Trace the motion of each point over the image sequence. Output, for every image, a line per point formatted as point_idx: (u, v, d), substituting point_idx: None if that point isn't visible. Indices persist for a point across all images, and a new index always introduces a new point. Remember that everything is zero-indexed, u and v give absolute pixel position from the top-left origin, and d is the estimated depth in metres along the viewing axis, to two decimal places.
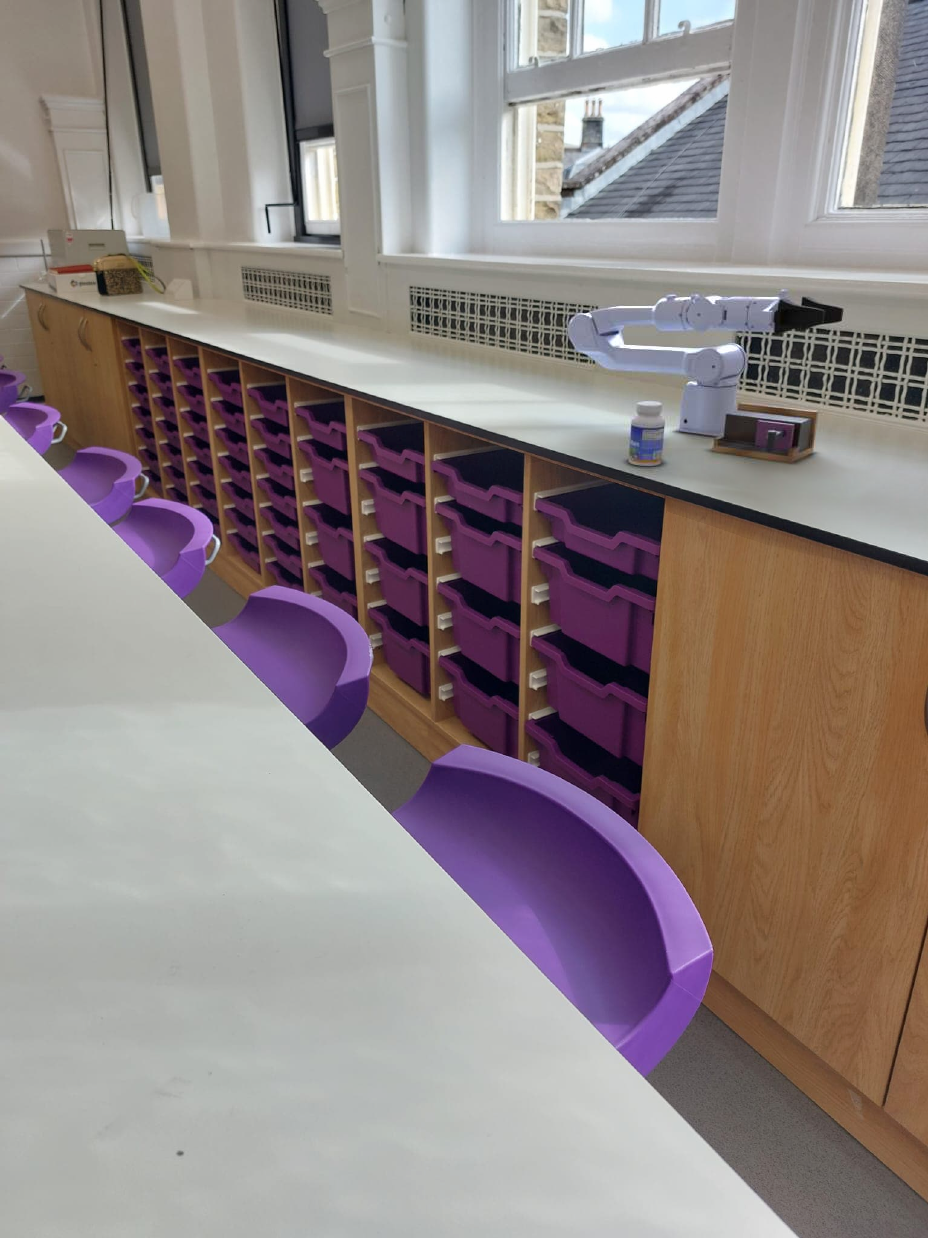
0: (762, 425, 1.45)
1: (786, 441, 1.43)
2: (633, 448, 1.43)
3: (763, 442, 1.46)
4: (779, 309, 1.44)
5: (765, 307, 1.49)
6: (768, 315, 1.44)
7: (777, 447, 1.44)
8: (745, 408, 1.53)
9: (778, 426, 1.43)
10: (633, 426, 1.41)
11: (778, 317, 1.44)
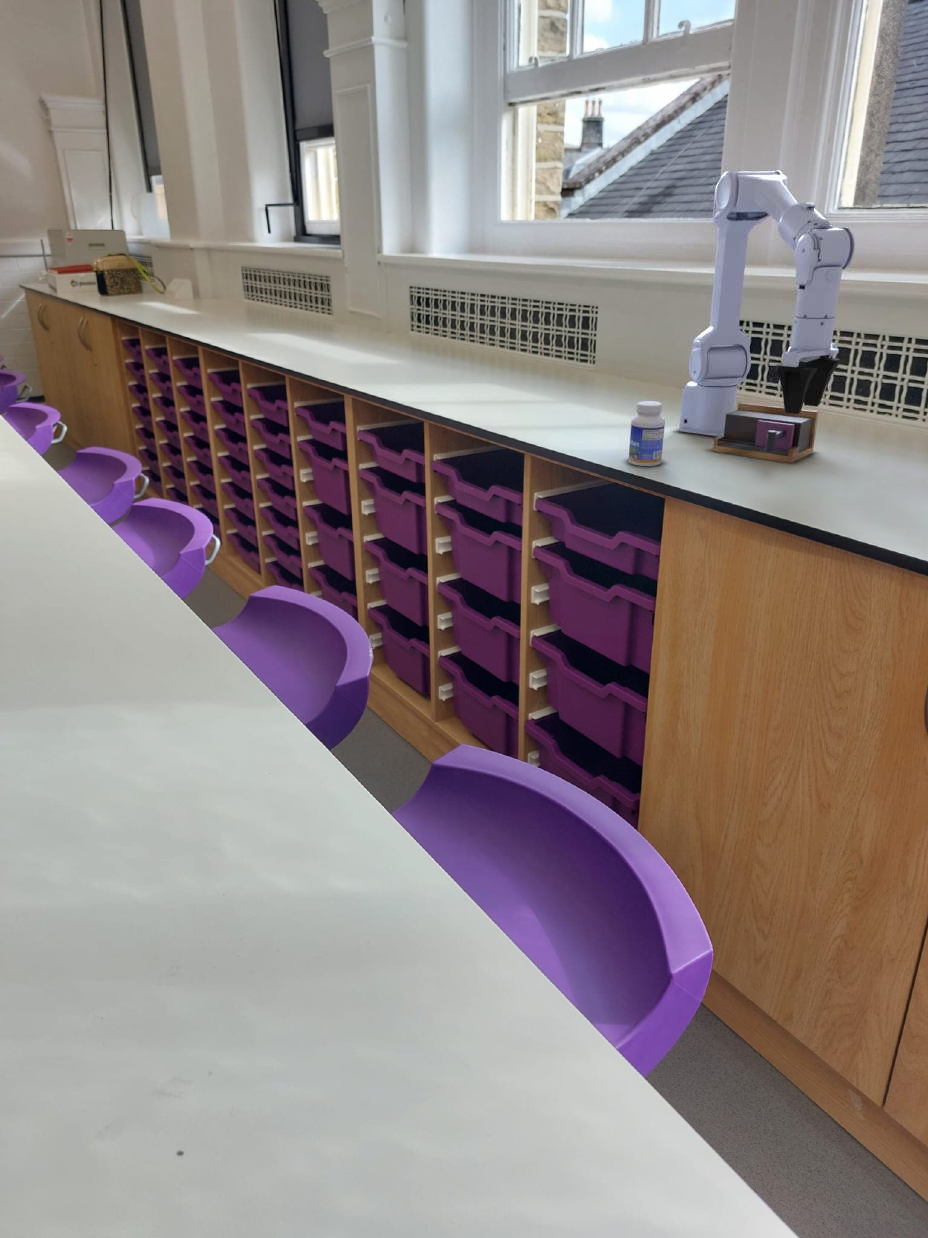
0: (762, 425, 1.45)
1: (786, 441, 1.43)
2: (633, 448, 1.43)
3: (763, 442, 1.46)
4: (799, 371, 1.28)
5: (813, 339, 1.29)
6: (791, 363, 1.27)
7: (777, 447, 1.44)
8: (745, 408, 1.53)
9: (778, 426, 1.43)
10: (633, 426, 1.41)
11: (791, 370, 1.29)
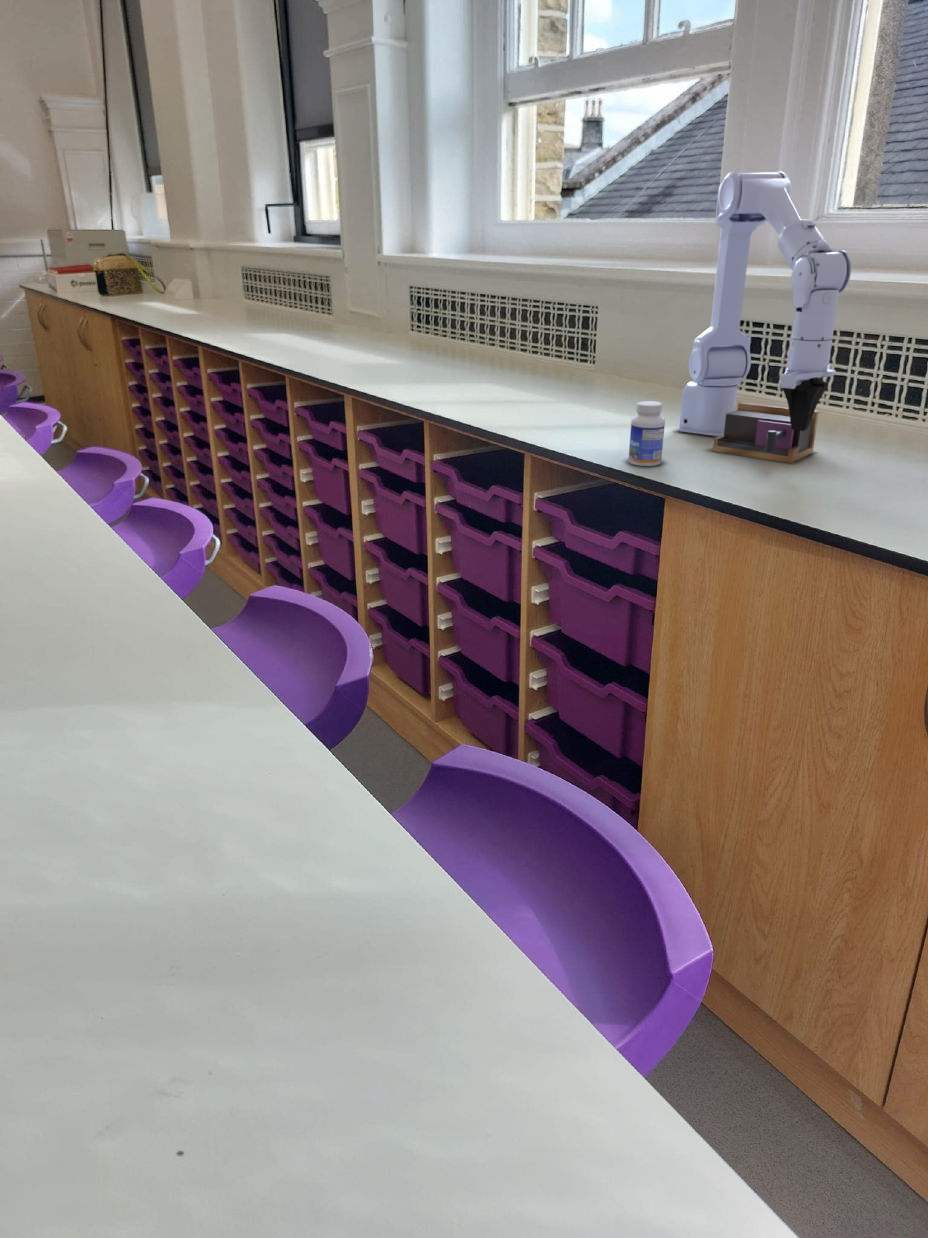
0: (762, 425, 1.45)
1: (786, 441, 1.43)
2: (633, 448, 1.43)
3: (763, 442, 1.46)
4: (805, 389, 1.32)
5: (810, 361, 1.30)
6: (788, 384, 1.28)
7: (777, 447, 1.44)
8: (745, 408, 1.53)
9: (778, 426, 1.43)
10: (633, 426, 1.41)
11: (798, 388, 1.32)
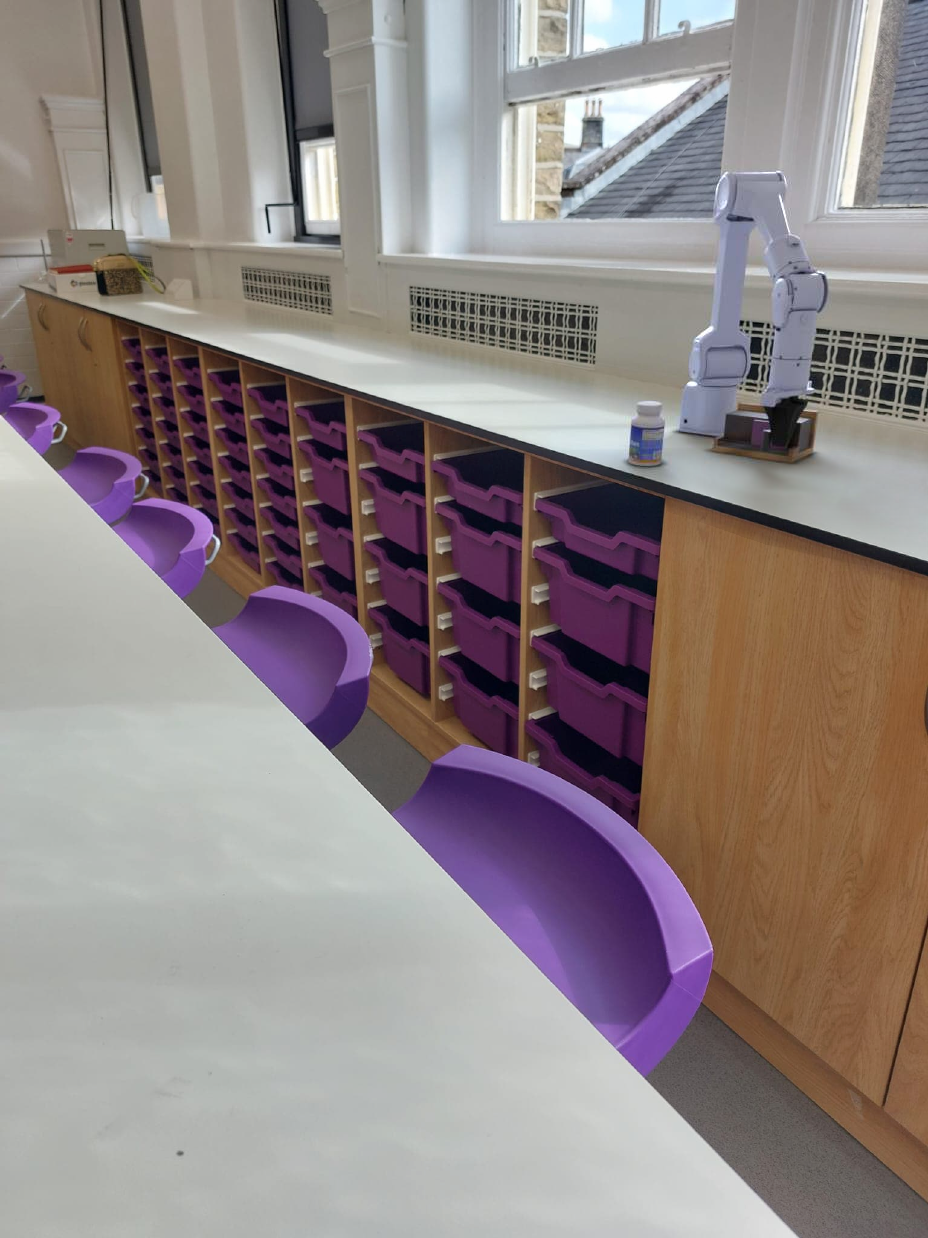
0: (758, 424, 1.45)
1: None
2: (633, 448, 1.43)
3: (759, 441, 1.46)
4: (785, 407, 1.35)
5: (790, 380, 1.33)
6: (768, 403, 1.31)
7: (773, 446, 1.45)
8: (745, 408, 1.53)
9: None
10: (633, 426, 1.41)
11: (778, 406, 1.35)
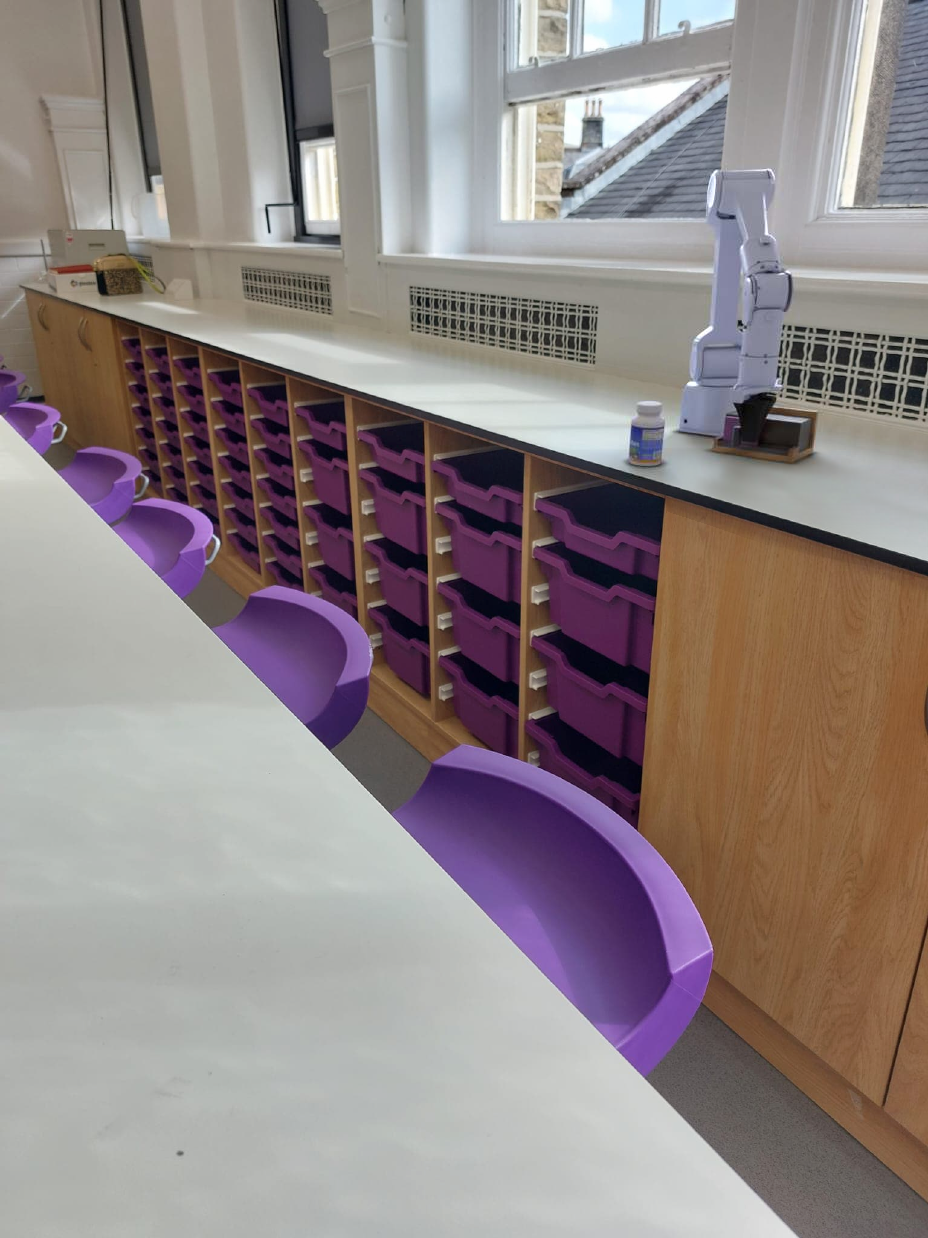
0: (729, 421, 1.48)
1: None
2: (633, 448, 1.43)
3: (730, 437, 1.49)
4: (754, 403, 1.38)
5: (758, 377, 1.36)
6: (736, 399, 1.34)
7: (744, 442, 1.48)
8: None
9: None
10: (633, 426, 1.41)
11: (747, 402, 1.38)
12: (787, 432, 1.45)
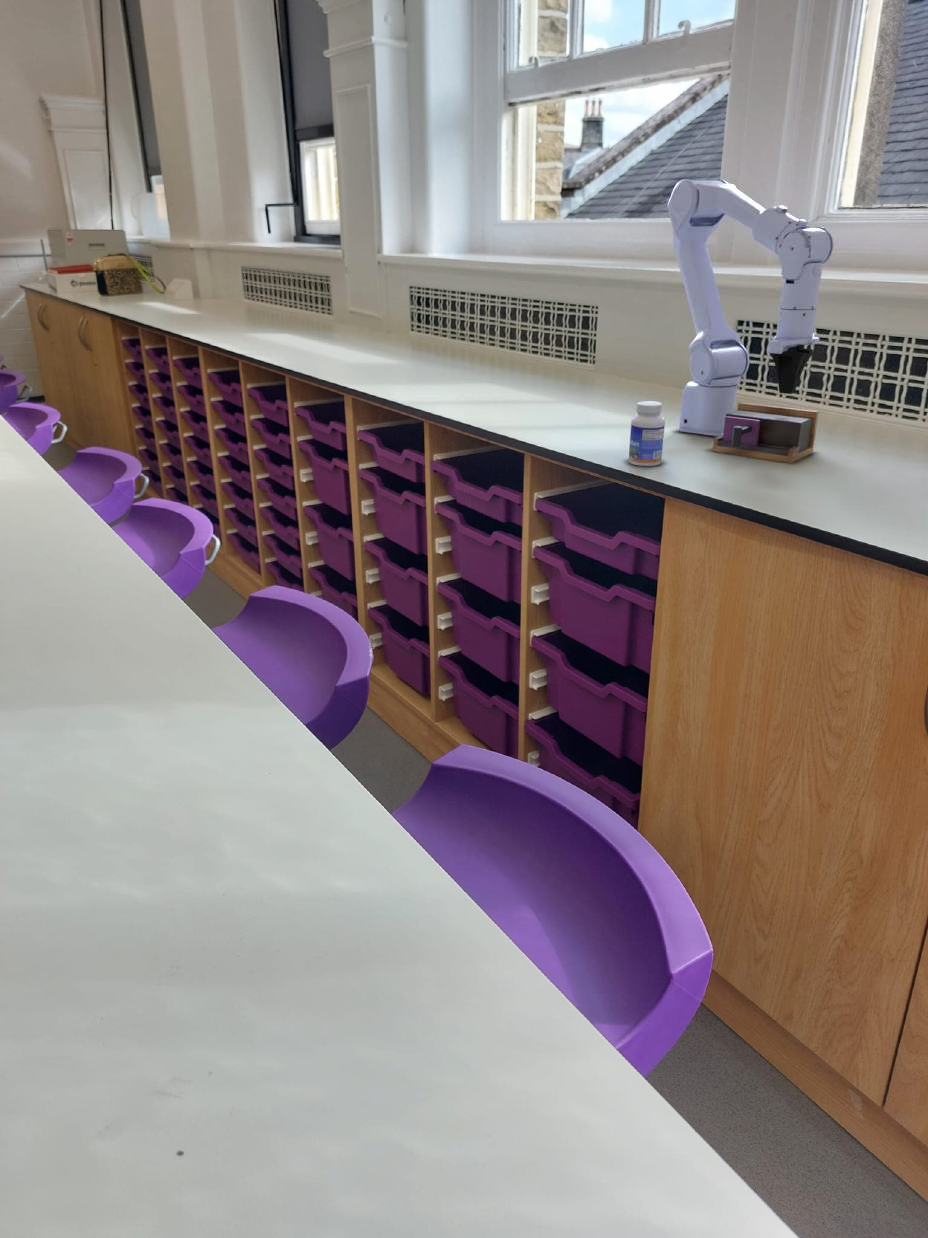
0: (729, 421, 1.48)
1: (752, 436, 1.47)
2: (633, 448, 1.43)
3: (730, 437, 1.49)
4: (792, 355, 1.44)
5: (796, 329, 1.42)
6: (776, 350, 1.41)
7: (744, 442, 1.48)
8: (745, 408, 1.53)
9: (744, 422, 1.47)
10: (633, 426, 1.41)
11: (785, 354, 1.44)
12: (787, 432, 1.45)
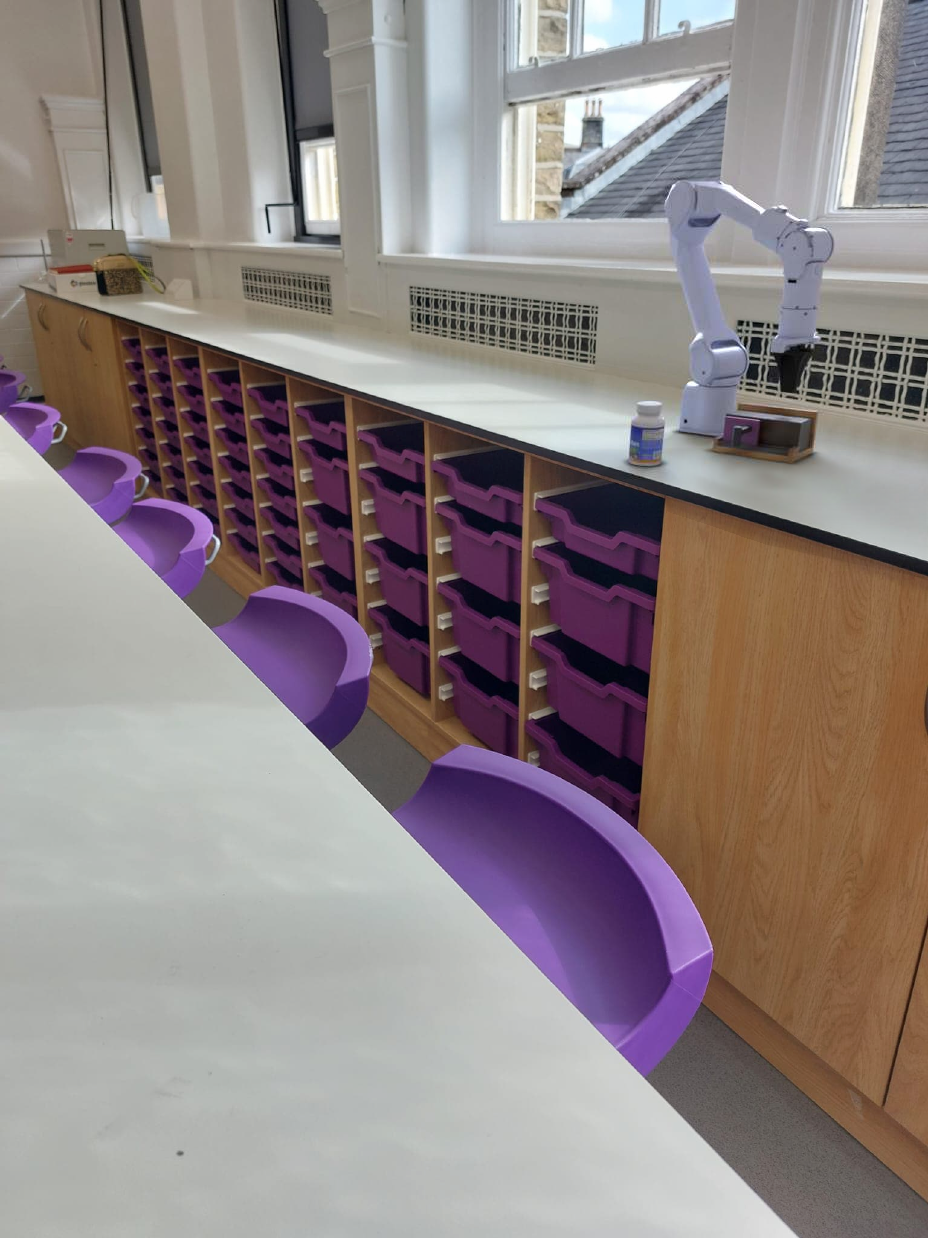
0: (729, 421, 1.48)
1: (752, 436, 1.47)
2: (633, 448, 1.43)
3: (730, 437, 1.49)
4: (793, 354, 1.44)
5: (798, 328, 1.43)
6: (778, 349, 1.41)
7: (744, 442, 1.48)
8: (745, 408, 1.53)
9: (744, 422, 1.47)
10: (633, 426, 1.41)
11: (786, 353, 1.45)
12: (787, 432, 1.45)
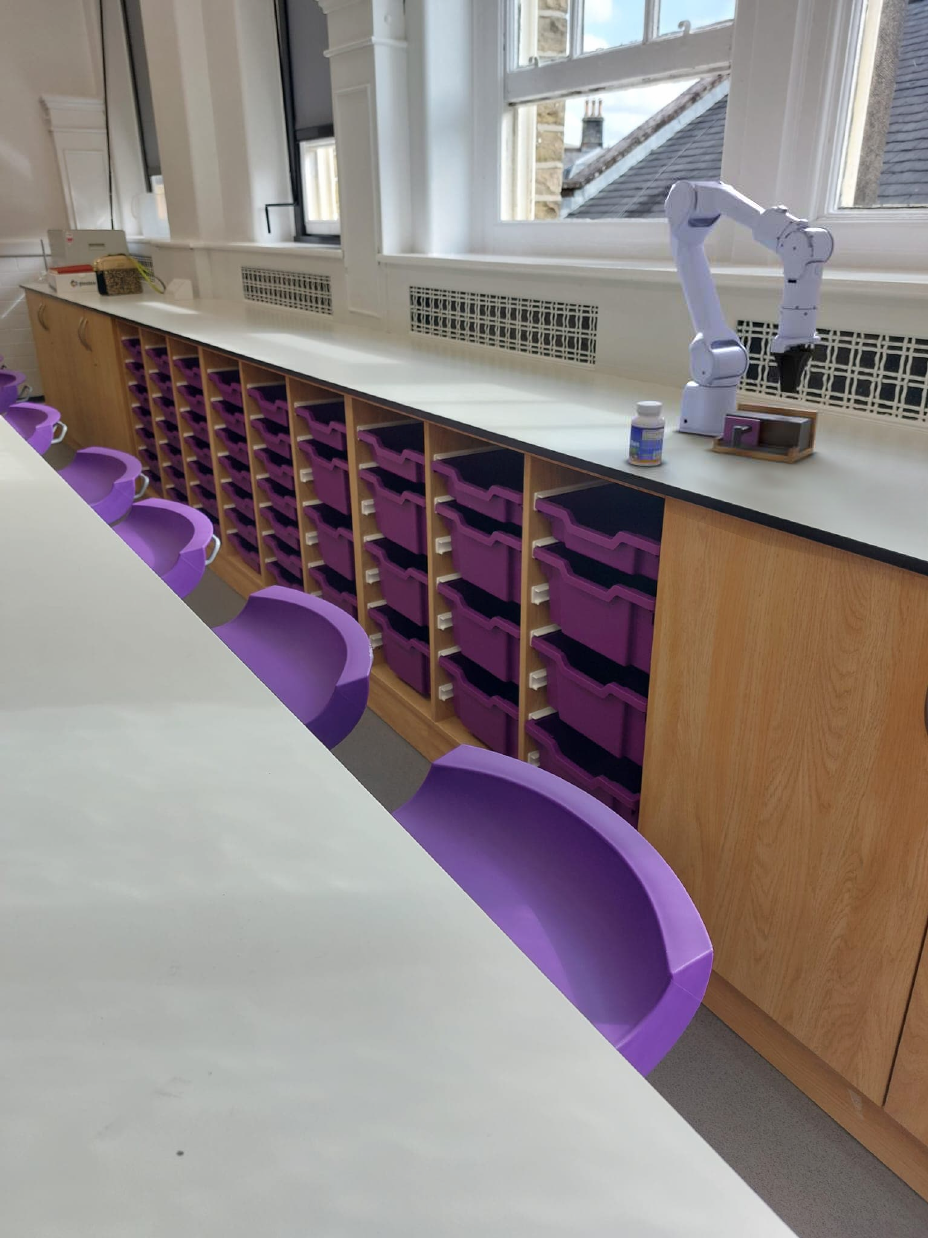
0: (729, 421, 1.48)
1: (752, 436, 1.47)
2: (633, 448, 1.43)
3: (730, 437, 1.49)
4: (793, 354, 1.44)
5: (798, 328, 1.43)
6: (778, 349, 1.41)
7: (744, 442, 1.48)
8: (745, 408, 1.53)
9: (744, 422, 1.47)
10: (633, 426, 1.41)
11: (786, 353, 1.45)
12: (787, 432, 1.45)
